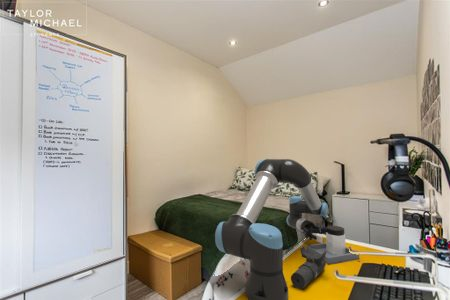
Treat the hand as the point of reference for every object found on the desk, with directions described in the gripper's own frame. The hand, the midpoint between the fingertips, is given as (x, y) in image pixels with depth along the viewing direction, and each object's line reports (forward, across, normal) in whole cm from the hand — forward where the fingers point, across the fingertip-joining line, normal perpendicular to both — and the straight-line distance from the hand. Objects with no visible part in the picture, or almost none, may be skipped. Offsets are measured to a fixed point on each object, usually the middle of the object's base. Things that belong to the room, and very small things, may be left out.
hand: (333, 238), depth 115 cm
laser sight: (+13, +24, -9) cm, 29 cm away
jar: (-2, -3, -8) cm, 9 cm away
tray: (-1, 0, -9) cm, 9 cm away
